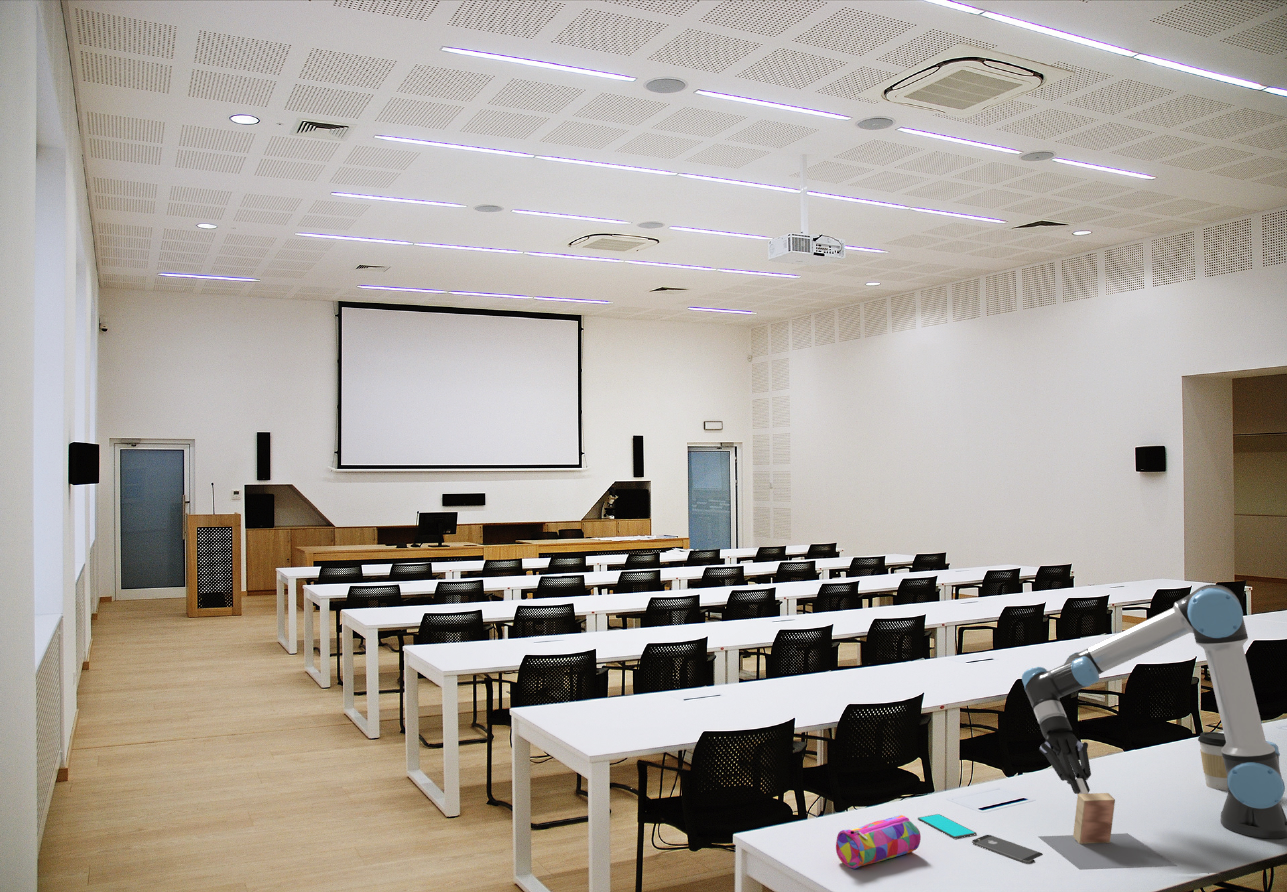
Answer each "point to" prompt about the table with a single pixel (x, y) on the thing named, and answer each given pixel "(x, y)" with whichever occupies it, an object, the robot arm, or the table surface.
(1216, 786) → the coffee cup
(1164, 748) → the table surface
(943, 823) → the smartphone
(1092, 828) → the oak block
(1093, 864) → the rubber mat
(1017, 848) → the phone
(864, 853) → the pencil case
